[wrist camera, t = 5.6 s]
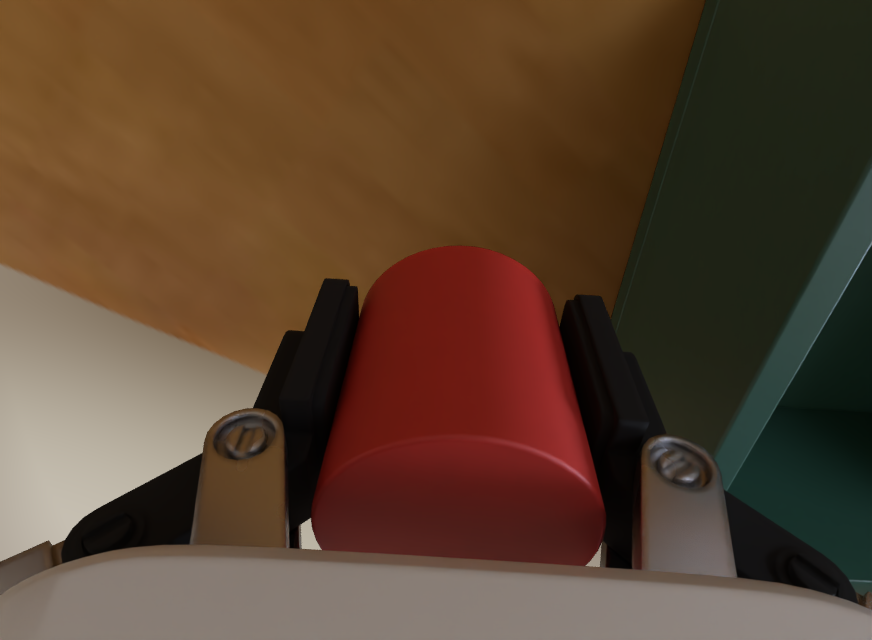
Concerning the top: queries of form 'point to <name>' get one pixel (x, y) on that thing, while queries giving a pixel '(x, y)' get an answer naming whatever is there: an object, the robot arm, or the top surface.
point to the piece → (459, 421)
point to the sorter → (767, 267)
